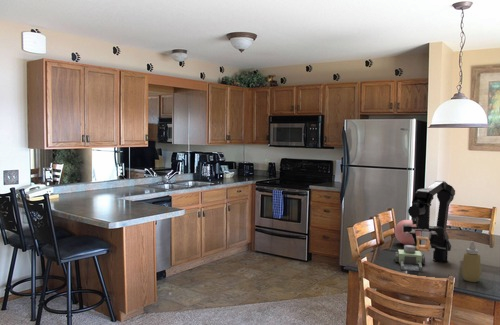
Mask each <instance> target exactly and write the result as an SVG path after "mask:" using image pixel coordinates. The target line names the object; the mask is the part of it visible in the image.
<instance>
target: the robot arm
mask: <svg viewBox="0 0 500 325" xmlns="http://www.w3.org/2000/svg"><path fill="white" fill-rule="evenodd" d="M435 195H436V199H437V200H438V202H439V203H438V204H439V205H438V212H437V219H436V226H435V225H434V226H433V227H430V219H431V216H430V215H431V206H432V201H433V199H434V196H435ZM455 195H456V190H455V188H454V187H453V186H452V185H450V184H448V183H447V181H445V180H434V182H433V183H432V184H430V185H429V186H428V187H425V188H419V189H417V190H416V192H415V194H414V196H413V199H412V202H411V204H412V205H411V206H410V207H409V208H408V209H407V213H408V215H409V217H411V218H412V219H411V220H412V224H416V227H412V226H411V225H405V224H404V225H403V227H402V230H403V232H409V234H412V236H413V239H414V243H415V244H414V246H416V245H417V242H416V233H415V231H421V232H429V236H428V239H429V240H430V249H433V251H432V259H433V261H434V262H436V263H438V262H441V263H448V262H449V261H448V256H449V255H448V253H449V252H450V251H452V250H451V249H452V244H451V242H450V241H449V234H448V232H447V224H448V218H449V210H450V204H451V203H452V201H453V200H454V198H455Z"/></svg>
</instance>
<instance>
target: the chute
mask: <svg viewBox="0 0 500 325" xmlns="http://www.w3.org/2000/svg"><path fill="white" fill-rule="evenodd" d="M420 240H422V241H425V244H420ZM416 242H417V245H416V246H415V245H414V246H415V250H416V251H420V252H430V250H431V245H430V240H429V236H421V237H418V236H416Z"/></svg>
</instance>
